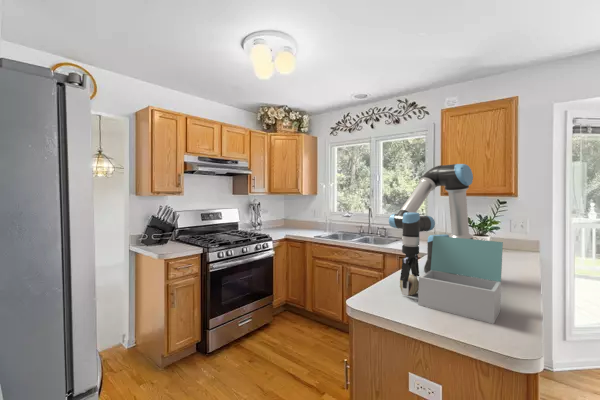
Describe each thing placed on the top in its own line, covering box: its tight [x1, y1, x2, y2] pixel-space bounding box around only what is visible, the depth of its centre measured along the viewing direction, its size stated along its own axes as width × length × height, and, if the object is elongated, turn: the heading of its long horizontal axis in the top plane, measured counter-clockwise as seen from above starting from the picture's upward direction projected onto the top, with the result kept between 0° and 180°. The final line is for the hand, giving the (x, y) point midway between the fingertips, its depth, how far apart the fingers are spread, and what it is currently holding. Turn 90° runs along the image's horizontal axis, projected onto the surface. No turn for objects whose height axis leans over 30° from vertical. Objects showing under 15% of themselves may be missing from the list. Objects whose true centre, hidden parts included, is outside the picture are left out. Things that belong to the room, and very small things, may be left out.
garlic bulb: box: [399, 273, 419, 296], centre depth 138 cm, size 9×8×10 cm
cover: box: [431, 236, 504, 283], centre depth 128 cm, size 16×27×2 cm
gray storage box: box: [417, 270, 502, 325], centre depth 121 cm, size 16×27×12 cm, turn 49°
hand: (409, 292), depth 138 cm, fingers open, 10 cm apart
